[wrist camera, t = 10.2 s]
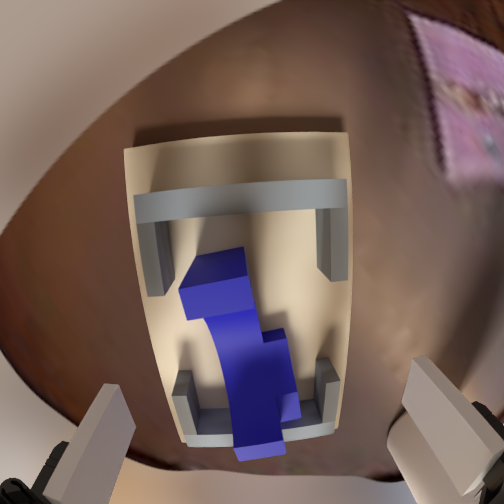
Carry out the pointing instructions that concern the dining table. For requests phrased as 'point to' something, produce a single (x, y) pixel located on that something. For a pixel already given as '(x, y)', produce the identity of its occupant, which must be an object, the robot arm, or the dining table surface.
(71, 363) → the dining table surface
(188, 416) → the board
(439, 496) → the alcohol
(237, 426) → the cable clip
